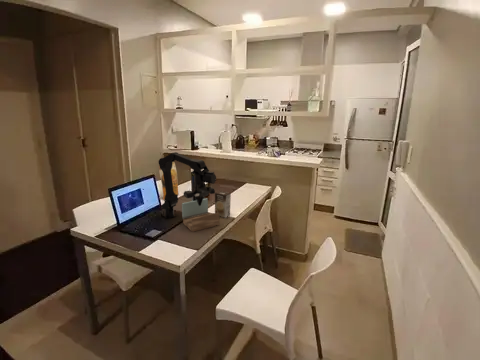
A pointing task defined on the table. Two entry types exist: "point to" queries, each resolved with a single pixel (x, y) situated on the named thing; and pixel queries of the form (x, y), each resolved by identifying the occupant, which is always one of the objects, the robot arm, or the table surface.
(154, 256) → the table surface
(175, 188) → the pancake mix bag
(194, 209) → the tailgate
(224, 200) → the coffee box
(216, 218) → the brown wooden block
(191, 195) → the robot arm
